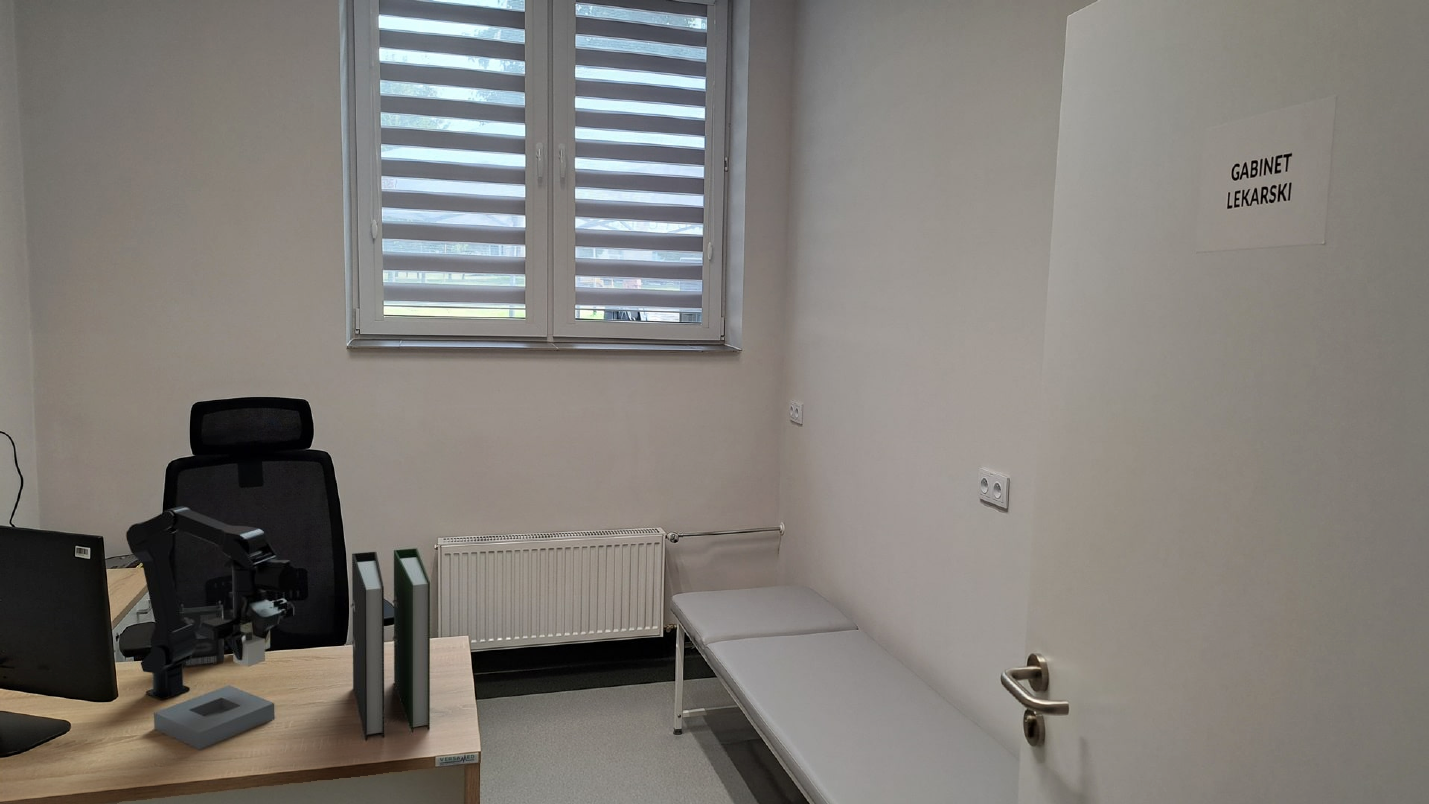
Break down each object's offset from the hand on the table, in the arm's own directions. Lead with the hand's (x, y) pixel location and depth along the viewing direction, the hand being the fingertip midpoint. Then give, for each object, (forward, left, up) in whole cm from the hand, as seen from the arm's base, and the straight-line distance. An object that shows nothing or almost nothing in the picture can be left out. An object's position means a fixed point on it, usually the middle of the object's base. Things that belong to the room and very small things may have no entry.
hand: (249, 656), depth 192 cm
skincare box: (-29, +20, -11) cm, 37 cm away
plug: (0, 0, -1) cm, 1 cm away
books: (+26, +16, -11) cm, 33 cm away
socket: (+2, -9, -11) cm, 14 cm away
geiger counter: (-31, +8, -11) cm, 34 cm away
